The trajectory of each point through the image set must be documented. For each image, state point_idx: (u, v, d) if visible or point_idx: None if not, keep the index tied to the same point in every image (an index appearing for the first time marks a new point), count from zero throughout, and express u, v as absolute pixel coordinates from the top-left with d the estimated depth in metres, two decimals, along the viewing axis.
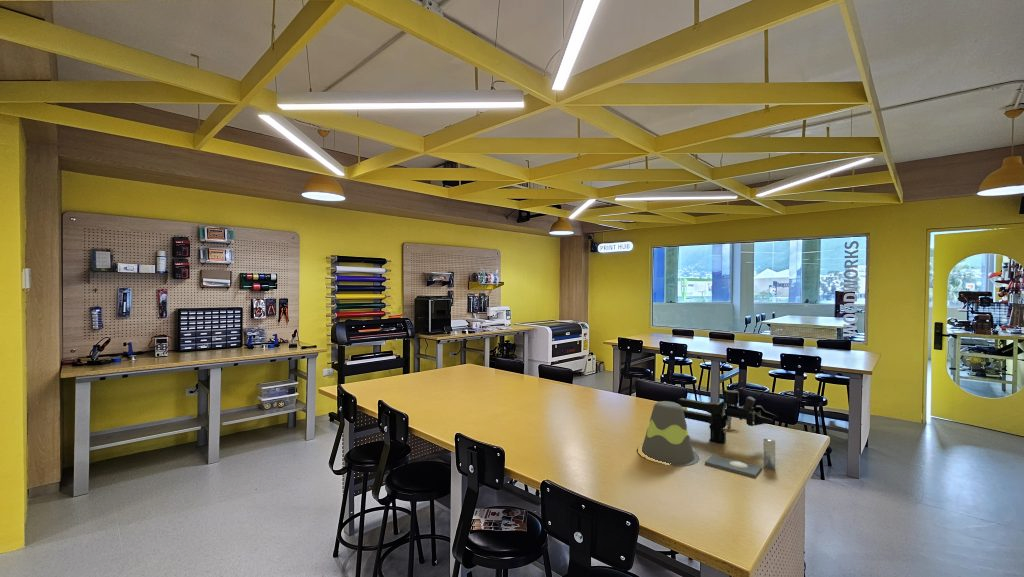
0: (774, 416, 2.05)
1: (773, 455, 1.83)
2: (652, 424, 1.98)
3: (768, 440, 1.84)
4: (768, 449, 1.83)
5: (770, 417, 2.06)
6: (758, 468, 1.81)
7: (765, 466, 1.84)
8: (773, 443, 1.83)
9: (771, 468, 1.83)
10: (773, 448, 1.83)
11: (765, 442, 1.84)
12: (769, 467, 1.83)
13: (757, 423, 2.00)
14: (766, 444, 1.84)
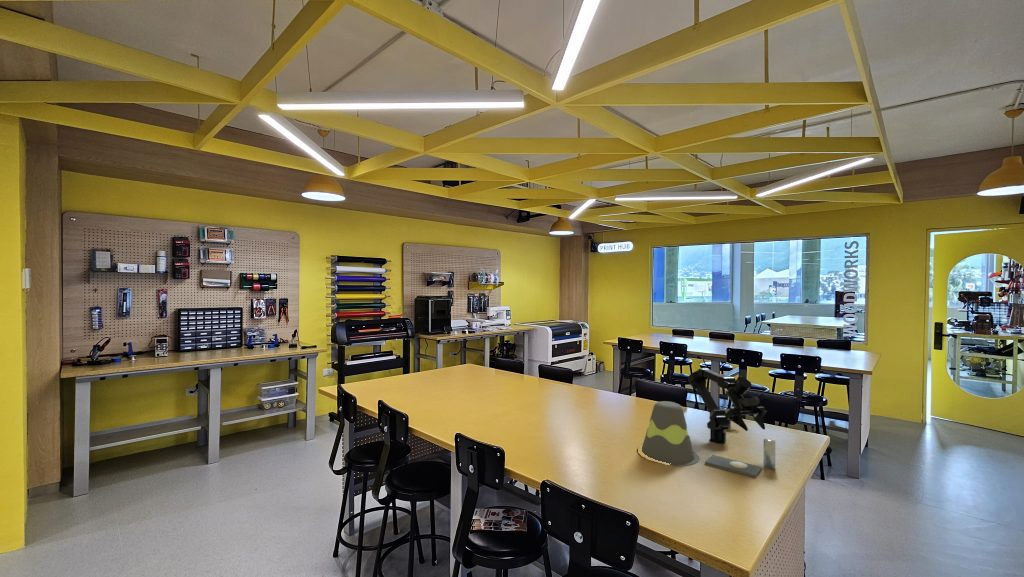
0: (762, 427, 1.94)
1: (773, 455, 1.83)
2: (652, 424, 1.98)
3: (768, 440, 1.84)
4: (768, 449, 1.83)
5: (760, 424, 1.96)
6: (758, 468, 1.81)
7: (765, 466, 1.84)
8: (773, 443, 1.83)
9: (771, 468, 1.83)
10: (773, 448, 1.83)
11: (765, 442, 1.84)
12: (769, 467, 1.83)
13: (734, 421, 1.97)
14: (766, 444, 1.84)
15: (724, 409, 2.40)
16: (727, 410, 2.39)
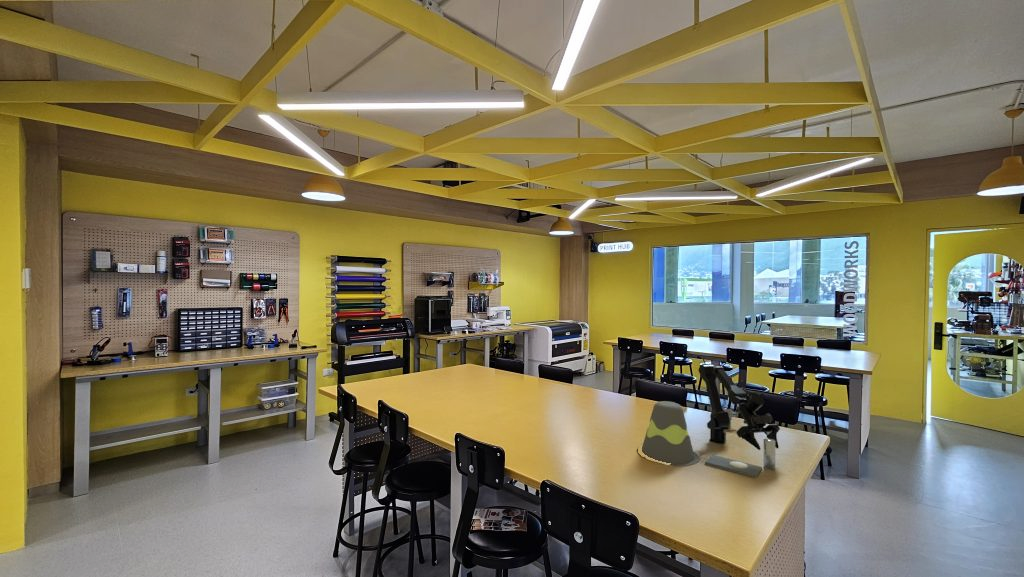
0: (776, 446, 1.87)
1: (773, 455, 1.83)
2: (652, 424, 1.98)
3: (768, 440, 1.84)
4: (768, 449, 1.83)
5: None
6: (758, 468, 1.81)
7: (765, 466, 1.84)
8: (773, 443, 1.83)
9: (771, 468, 1.83)
10: (773, 448, 1.83)
11: (765, 442, 1.84)
12: (769, 467, 1.83)
13: (746, 439, 1.89)
14: (766, 444, 1.84)
15: (724, 409, 2.40)
16: (727, 410, 2.39)
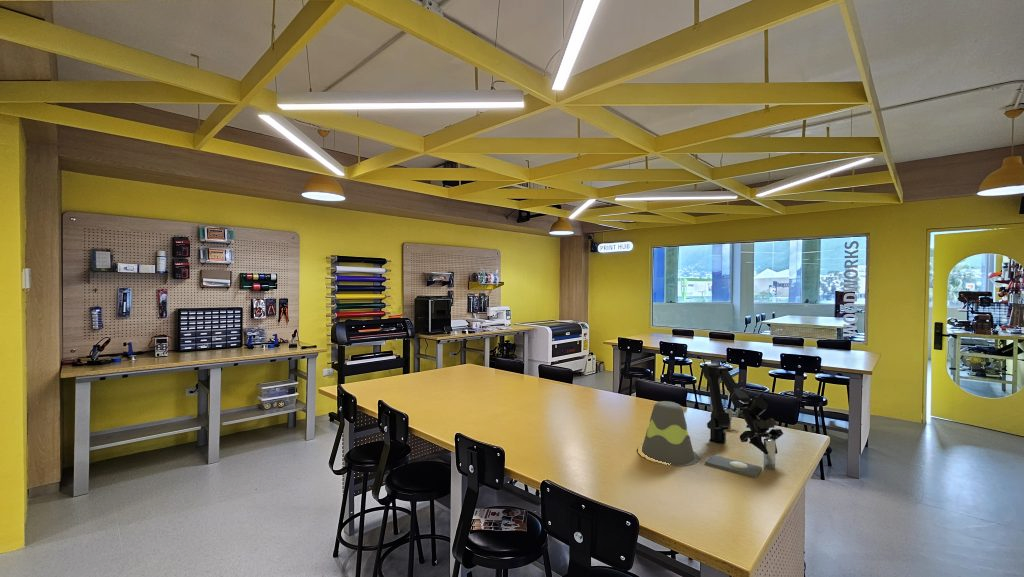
0: (775, 451, 1.84)
1: (773, 455, 1.83)
2: (652, 424, 1.98)
3: (768, 440, 1.84)
4: (768, 449, 1.83)
5: None
6: (758, 468, 1.81)
7: (765, 466, 1.84)
8: (773, 443, 1.83)
9: (771, 468, 1.83)
10: (773, 448, 1.83)
11: (765, 442, 1.84)
12: (769, 467, 1.83)
13: (753, 443, 1.88)
14: (766, 444, 1.84)
15: (724, 409, 2.40)
16: (727, 410, 2.39)
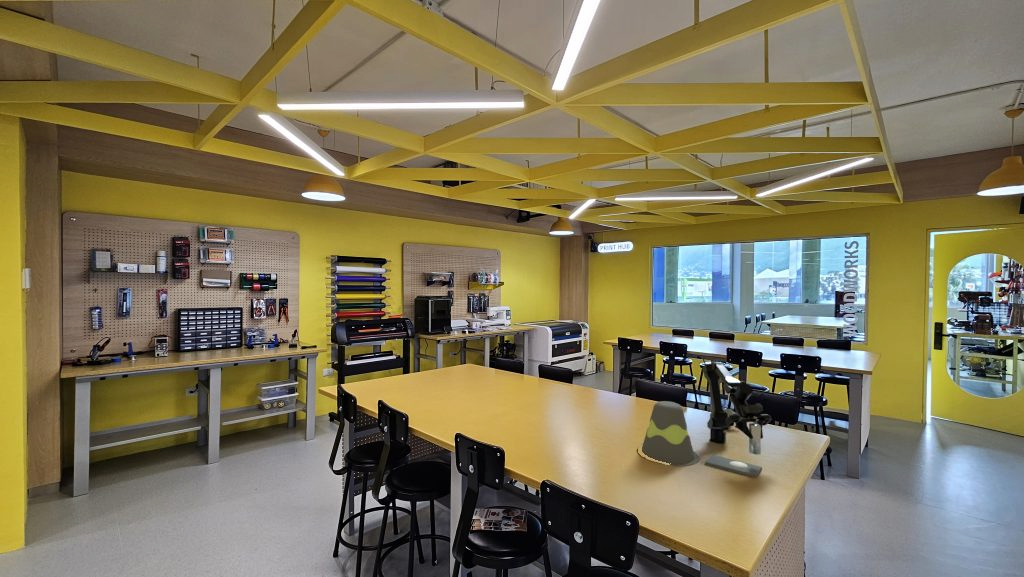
0: None
1: (758, 440, 1.82)
2: (652, 424, 1.98)
3: (753, 425, 1.84)
4: (753, 434, 1.83)
5: None
6: (758, 468, 1.81)
7: (750, 450, 1.84)
8: (758, 428, 1.82)
9: (756, 453, 1.82)
10: (758, 433, 1.82)
11: (750, 426, 1.84)
12: (754, 451, 1.82)
13: (739, 428, 1.88)
14: (751, 429, 1.83)
15: (724, 409, 2.40)
16: (727, 410, 2.39)
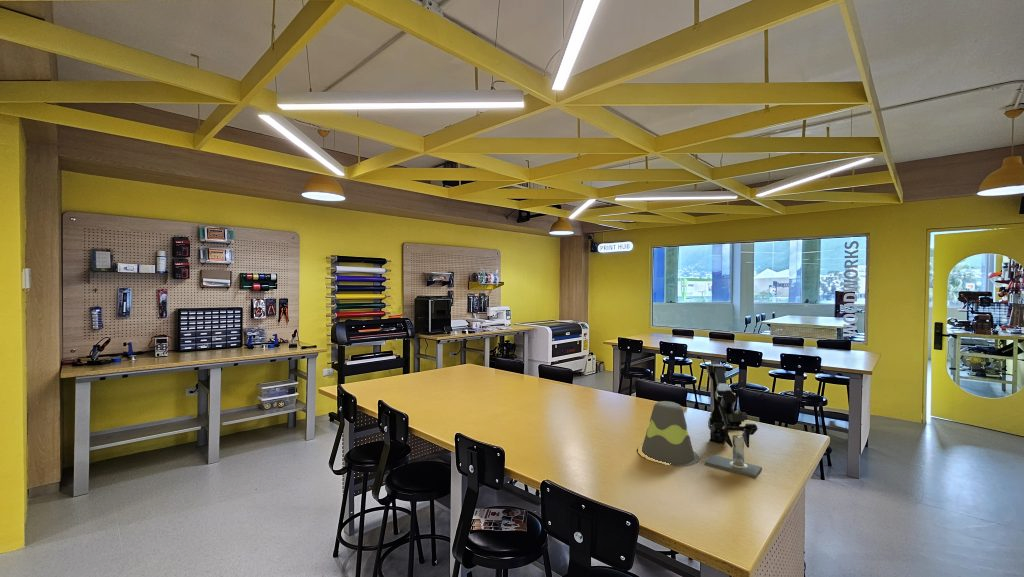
0: (747, 445, 1.84)
1: (740, 452, 1.83)
2: (652, 424, 1.98)
3: (736, 437, 1.85)
4: (735, 446, 1.84)
5: (745, 442, 1.86)
6: (758, 468, 1.81)
7: (733, 462, 1.85)
8: (740, 440, 1.83)
9: (739, 464, 1.83)
10: (740, 445, 1.83)
11: (733, 438, 1.85)
12: (737, 463, 1.83)
13: (721, 436, 1.89)
14: (734, 441, 1.84)
15: None
16: None
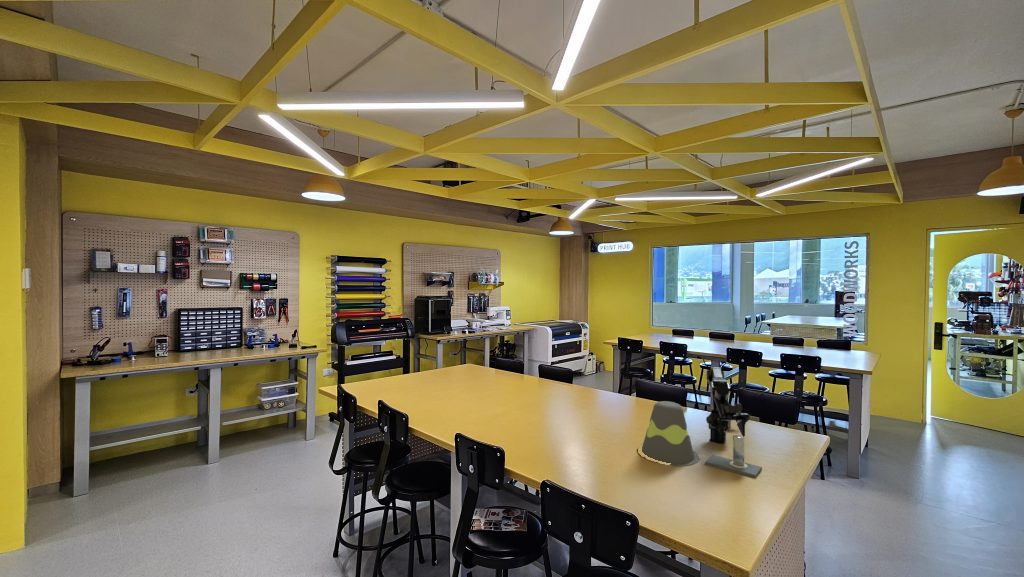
0: (742, 434, 1.94)
1: (741, 452, 1.83)
2: (652, 424, 1.98)
3: (737, 437, 1.85)
4: (736, 446, 1.84)
5: (740, 431, 1.96)
6: (758, 468, 1.81)
7: (733, 462, 1.85)
8: (741, 440, 1.83)
9: (739, 465, 1.83)
10: (741, 445, 1.83)
11: (733, 438, 1.85)
12: (737, 463, 1.83)
13: (714, 425, 1.98)
14: (734, 441, 1.84)
15: None
16: None
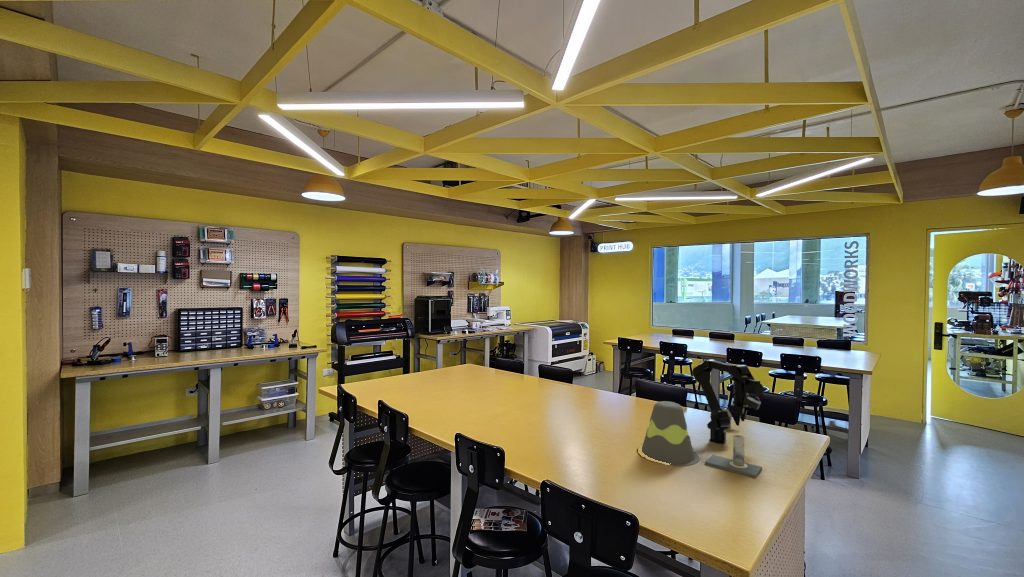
0: (742, 419, 2.08)
1: (741, 452, 1.83)
2: (652, 424, 1.98)
3: (737, 437, 1.85)
4: (736, 446, 1.84)
5: (740, 415, 2.09)
6: (758, 468, 1.81)
7: (733, 462, 1.85)
8: (741, 440, 1.83)
9: (739, 464, 1.83)
10: (741, 445, 1.83)
11: (733, 438, 1.85)
12: (737, 463, 1.83)
13: (732, 413, 2.02)
14: (734, 441, 1.84)
15: (724, 409, 2.40)
16: (727, 410, 2.39)
